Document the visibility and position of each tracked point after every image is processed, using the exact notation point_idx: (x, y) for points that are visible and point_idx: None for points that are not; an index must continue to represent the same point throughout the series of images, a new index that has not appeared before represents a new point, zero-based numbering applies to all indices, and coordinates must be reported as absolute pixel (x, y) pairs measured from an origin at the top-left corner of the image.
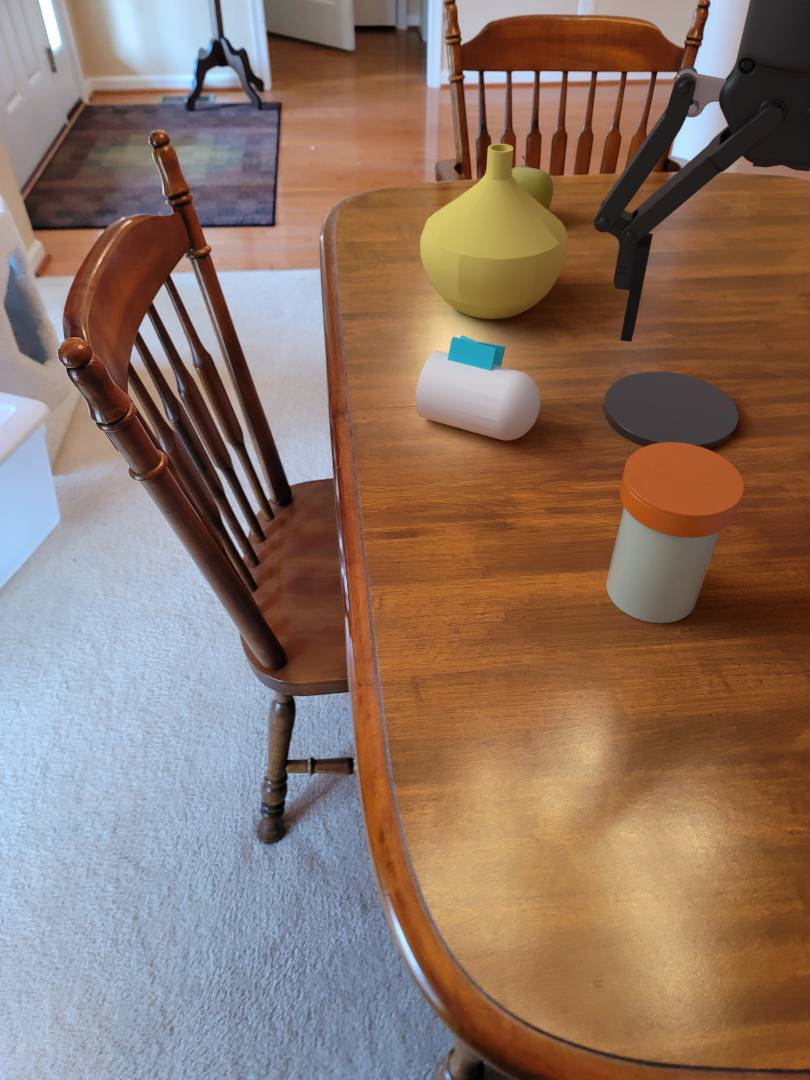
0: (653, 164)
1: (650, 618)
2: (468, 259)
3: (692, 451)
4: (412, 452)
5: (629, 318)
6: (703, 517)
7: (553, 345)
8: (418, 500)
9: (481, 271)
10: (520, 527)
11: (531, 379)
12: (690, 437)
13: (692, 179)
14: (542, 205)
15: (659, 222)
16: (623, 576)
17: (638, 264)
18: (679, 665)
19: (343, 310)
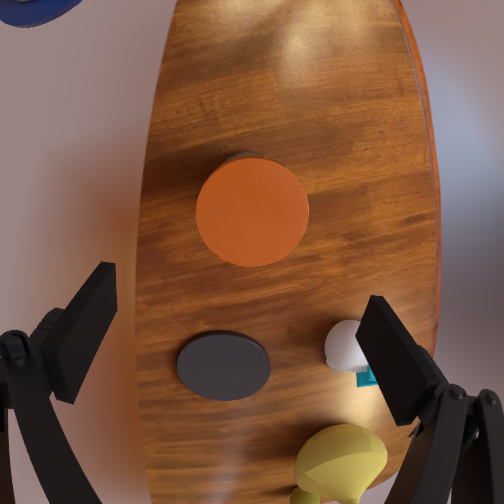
0: (494, 484)
1: (250, 152)
2: (366, 450)
3: (240, 255)
4: (402, 299)
5: (389, 314)
6: (238, 159)
7: (298, 413)
8: (403, 254)
9: (357, 445)
10: (339, 237)
11: (338, 364)
12: (210, 343)
13: (438, 491)
14: (296, 497)
15: (438, 419)
16: None
17: (426, 364)
18: (231, 115)
19: None
